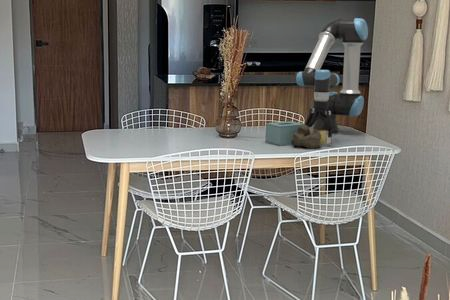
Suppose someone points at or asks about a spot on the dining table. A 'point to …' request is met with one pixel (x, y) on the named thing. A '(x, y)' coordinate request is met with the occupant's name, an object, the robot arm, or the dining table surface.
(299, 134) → the decorative stone
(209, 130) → the dining table surface
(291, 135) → the coin box
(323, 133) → the cream small block
